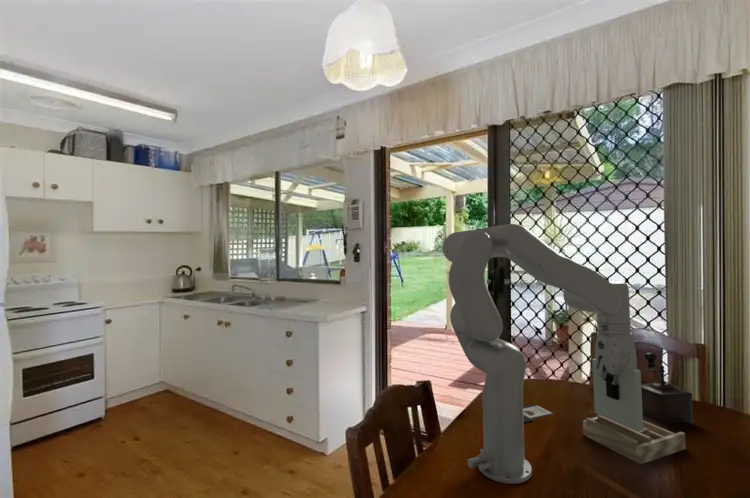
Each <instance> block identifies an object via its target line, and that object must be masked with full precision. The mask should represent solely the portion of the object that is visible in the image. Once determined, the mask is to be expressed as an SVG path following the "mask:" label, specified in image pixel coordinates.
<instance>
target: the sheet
mask: <svg viewBox="0 0 750 498" xmlns="http://www.w3.org/2000/svg"><path fill="white" fill-rule="evenodd" d="M591 362H592V363H591V364H592V378H593V379H592V382H593V383H592V385H593V402H594V403H593V406H594V413H595V414H597V415H601V416H604V417H606V418H608V419H611V420H613V421H615V422H617V423H620V424H622V425H624V426H627V427H629V428H631V429H634V430H636V431H641V430H643V420H644V419H643V418H644V416H643V415H644V414H643V412H642V390H641V384H642V373H641V372H642V371H641V370H640V369H637V368H636V369H634V368H631V367H625V368H623V373H622V374H617V385H619V400H615V399H613V398H610V397H608V396H607V394H606V382H605V381H604V379H603V378H602V377H599V376H597V371H598V369H597V368H596V361H595V358H592V359H591ZM609 375H610V374H609ZM610 376H611V377H612V375H610Z"/></svg>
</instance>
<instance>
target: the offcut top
mask: <svg viewBox="0 0 750 498" xmlns="http://www.w3.org/2000/svg"><path fill="white" fill-rule="evenodd" d="M626 427H627V426H626ZM633 430H634V429H633ZM638 432H640V433H642V434H645V435H647V436H649V429H647V428H645V427H643V430H641V431H638Z"/></svg>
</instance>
